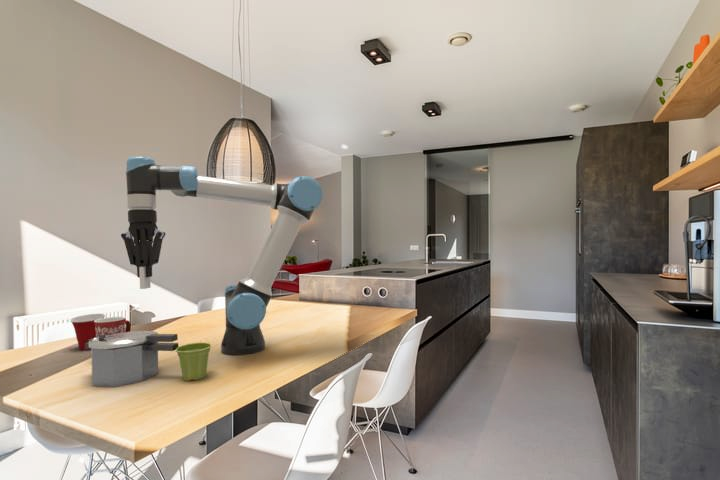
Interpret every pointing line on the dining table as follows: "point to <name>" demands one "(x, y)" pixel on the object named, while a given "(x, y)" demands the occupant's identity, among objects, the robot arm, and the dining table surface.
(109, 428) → the dining table surface
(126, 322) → the mug
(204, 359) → the plant pot
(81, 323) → the plastic cup
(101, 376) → the cooker pot
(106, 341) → the lid
